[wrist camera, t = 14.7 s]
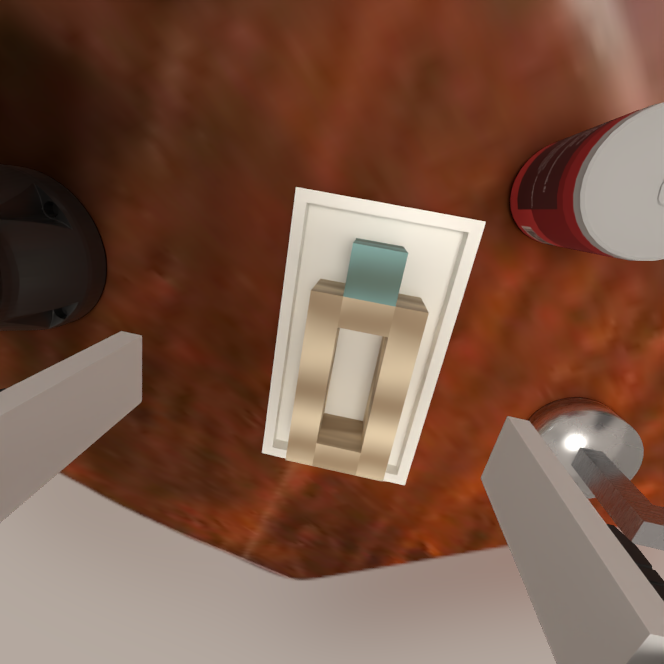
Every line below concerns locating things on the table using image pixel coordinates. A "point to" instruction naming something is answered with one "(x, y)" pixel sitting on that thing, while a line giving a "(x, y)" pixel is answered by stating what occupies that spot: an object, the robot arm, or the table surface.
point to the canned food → (598, 189)
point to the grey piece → (602, 463)
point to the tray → (357, 347)
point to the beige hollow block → (390, 372)
